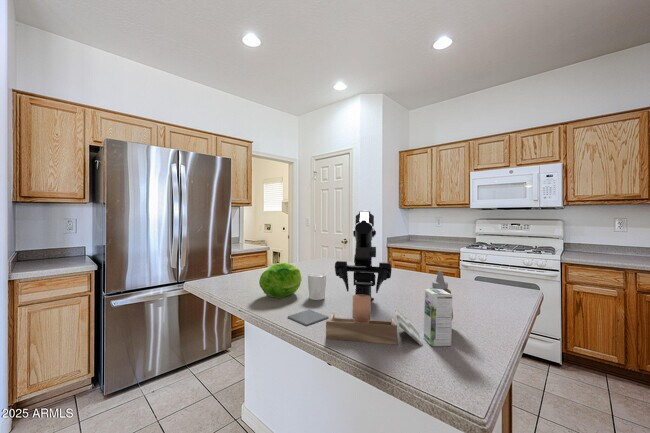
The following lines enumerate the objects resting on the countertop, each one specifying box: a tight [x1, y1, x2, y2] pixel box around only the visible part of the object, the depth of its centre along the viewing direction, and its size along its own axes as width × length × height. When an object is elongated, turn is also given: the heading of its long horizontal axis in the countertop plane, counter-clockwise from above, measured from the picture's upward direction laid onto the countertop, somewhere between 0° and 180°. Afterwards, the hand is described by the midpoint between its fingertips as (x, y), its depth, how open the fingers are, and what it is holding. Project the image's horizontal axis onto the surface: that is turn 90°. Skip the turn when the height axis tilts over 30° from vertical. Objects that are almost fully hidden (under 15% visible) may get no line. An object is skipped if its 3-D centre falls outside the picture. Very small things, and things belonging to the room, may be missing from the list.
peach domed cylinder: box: [352, 294, 372, 323], centre depth 86 cm, size 5×5×11 cm
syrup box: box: [423, 288, 453, 347], centre depth 81 cm, size 6×6×14 cm
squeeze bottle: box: [429, 270, 454, 320], centre depth 92 cm, size 8×8×18 cm
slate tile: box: [287, 309, 330, 327], centre depth 98 cm, size 10×10×1 cm
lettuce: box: [259, 262, 302, 299], centre depth 124 cm, size 15×23×16 cm
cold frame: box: [325, 309, 424, 346], centre depth 87 cm, size 14×27×6 cm, turn 81°
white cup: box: [307, 272, 327, 301], centre depth 121 cm, size 8×8×10 cm
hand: (362, 291), depth 91 cm, fingers open, 9 cm apart
